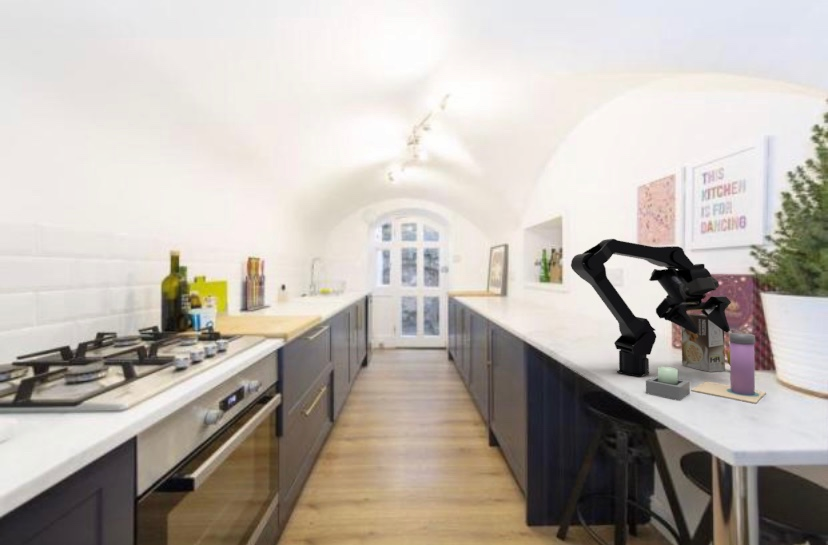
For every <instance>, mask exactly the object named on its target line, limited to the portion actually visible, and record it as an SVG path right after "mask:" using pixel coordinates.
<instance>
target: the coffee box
mask: <svg viewBox="0 0 828 545" xmlns="http://www.w3.org/2000/svg"><path fill="white" fill-rule="evenodd" d="M687 314H688V316H689V317H690V318H691V320H692V321H693V323H694V324H695V326H696V327H697V329H698V331H699V332H698V333H697V334H694V333H692V332H690V331H689V330H687V329H685V328H683V327H681V326H680V327H681V365H682V366H683V367H688V368H693V369H696V370H701V371H705V372H708V373H712V372H715V373H716V372H725V371H726V354H725V352H726V351H725V350H726V348H725V343H726V342H725V331H723V330H722V329H720V328H719V327H718V326H716V325H715V324H714V323H712V322H711V321H710V320H708V319H707V318H706V317H707V316H706V315H704V314H703V313H698V312H697V313H696V312H693V313H692V312H691V313H690V312H689V313H688V312H687ZM724 370H725V371H724Z"/></svg>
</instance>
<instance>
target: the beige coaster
mask: <svg viewBox="0 0 828 545" xmlns="http://www.w3.org/2000/svg"><path fill="white" fill-rule="evenodd" d="M690 392H695V393H698V394H705V395H710V396H714V397H719V398H725V399H730V400H735V401H740V402H746V403H750V404H757V403H758V402H759V401H761V400H762V398H763V397H764V396H765V395H766V394H767V391H761V390H756V389H755V395H741V394H736V393H733V392H731V385H728V384H722V383H716V382H711V381H703V382H702V383H700V384H698V385H696V387H693V388H692V389H691V390H690Z"/></svg>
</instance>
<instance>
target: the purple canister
mask: <svg viewBox="0 0 828 545" xmlns="http://www.w3.org/2000/svg"><path fill="white" fill-rule="evenodd" d="M755 337H756V335H755V334H751V333H742V332H729V350H730V365H729V367H730V368H729V370H730V372H729V374H730V375H729V376H730V381H729V382H730V386H731V392H733V393H736V394H741V395H755V390H756V386H755V385H756V384H755V382H756V380H755V376H756V375H755V373H756V372H755V367H756V366H755V344H756V343H755V342H756V338H755Z"/></svg>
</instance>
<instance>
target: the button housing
mask: <svg viewBox="0 0 828 545" xmlns="http://www.w3.org/2000/svg"><path fill="white" fill-rule="evenodd" d="M690 388H691V384H690V380H689V381H688V380H683V379H678V385H671V384H666V383H661V382H658V375H656V376H653V377H651V378H649V379H646V380H645V394H648V393H649V394H648V395H652V394H653V395H652V396H657V397H661V398H667V399H672V400H675V399H676V401H681V400H682V399H684V398H686V397H688V396H690V394H691V390H690Z"/></svg>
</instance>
